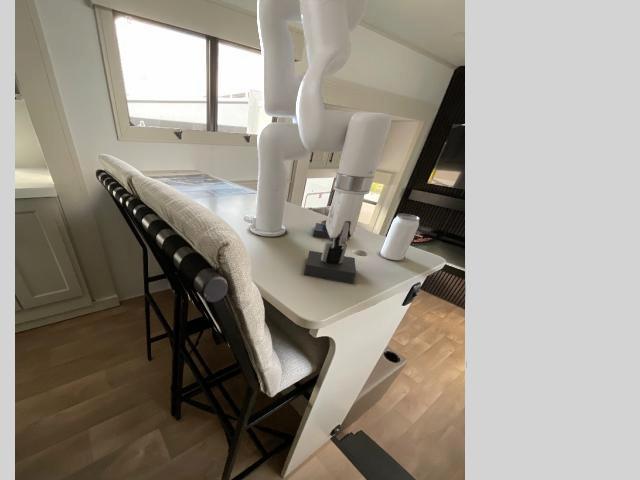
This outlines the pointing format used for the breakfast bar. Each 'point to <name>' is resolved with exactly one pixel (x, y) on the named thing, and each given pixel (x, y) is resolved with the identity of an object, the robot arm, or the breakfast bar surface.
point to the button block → (321, 230)
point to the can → (400, 236)
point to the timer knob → (326, 249)
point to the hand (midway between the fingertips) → (331, 259)
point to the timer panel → (330, 268)
